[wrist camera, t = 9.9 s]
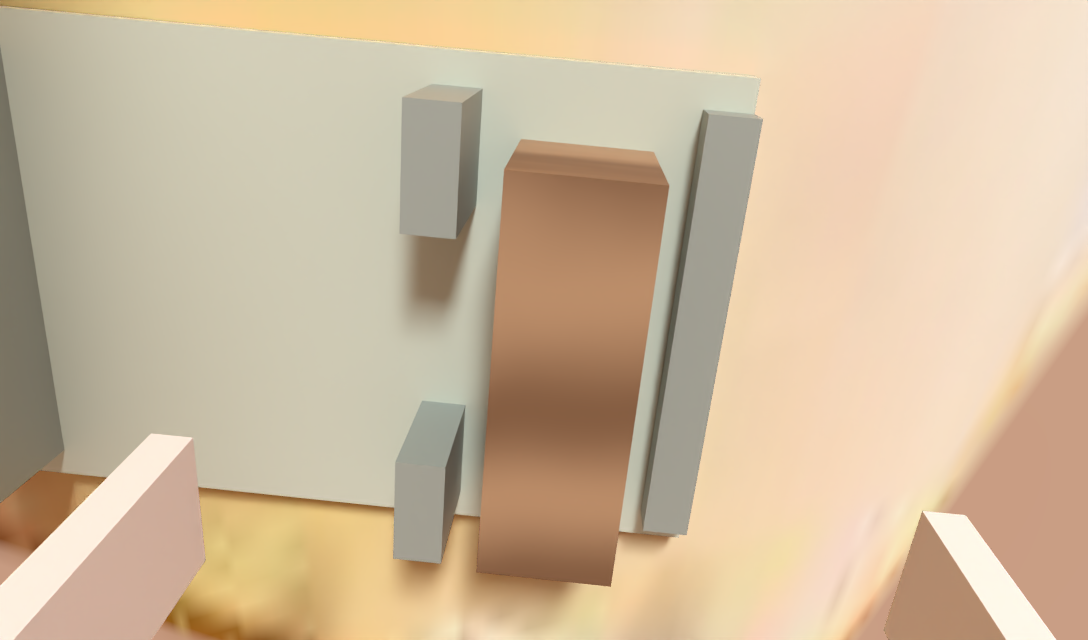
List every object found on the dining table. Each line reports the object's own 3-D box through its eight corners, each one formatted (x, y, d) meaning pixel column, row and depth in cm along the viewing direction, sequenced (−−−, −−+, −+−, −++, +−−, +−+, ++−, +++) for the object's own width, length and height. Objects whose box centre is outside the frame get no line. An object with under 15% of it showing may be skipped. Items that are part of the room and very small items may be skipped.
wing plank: (520, 138, 24) (503, 169, 19) (653, 152, 24) (669, 185, 19) (495, 479, 28) (476, 572, 23) (607, 491, 28) (610, 586, 23)
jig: (-64, -1, 24) (-221, -4, 19) (753, 76, 24) (794, 91, 19) (19, 452, 30) (-86, 532, 25) (675, 521, 29) (691, 616, 25)
